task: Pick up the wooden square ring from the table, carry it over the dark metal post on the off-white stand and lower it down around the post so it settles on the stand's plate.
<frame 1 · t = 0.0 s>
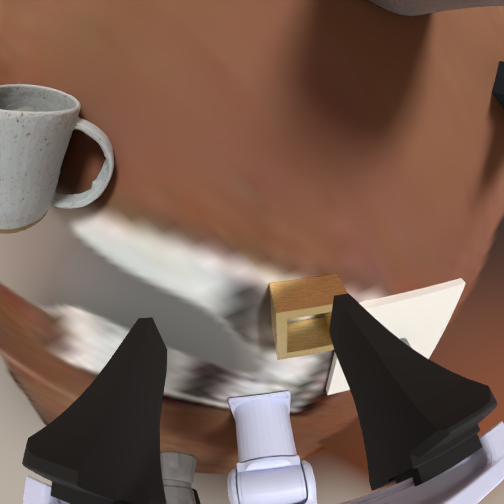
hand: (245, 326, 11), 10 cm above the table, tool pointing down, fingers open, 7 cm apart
wooden square ring: (303, 304, 24), on the table
coffeepot: (179, 457, 48), on the table
post stand: (393, 340, 29), on the table
ceramic mug: (58, 142, 15), on the table
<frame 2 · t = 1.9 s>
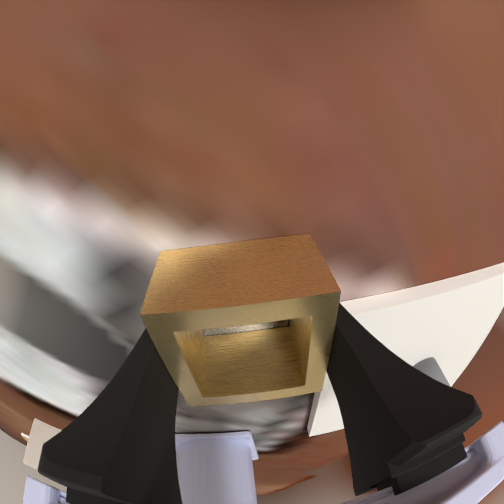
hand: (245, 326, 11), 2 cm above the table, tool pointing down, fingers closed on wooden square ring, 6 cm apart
wooden square ring: (242, 300, 12), on the table, touching gripper
post stand: (413, 360, 17), on the table
architectural model: (55, 424, 22), on the table
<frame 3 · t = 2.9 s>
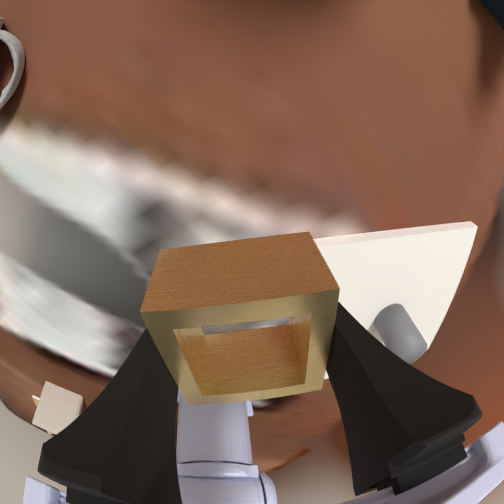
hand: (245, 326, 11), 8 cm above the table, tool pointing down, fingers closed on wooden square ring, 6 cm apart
wooden square ring: (242, 298, 12), point 6 cm above the table, touching gripper
post stand: (384, 308, 22), on the table
architectural model: (65, 387, 27), on the table
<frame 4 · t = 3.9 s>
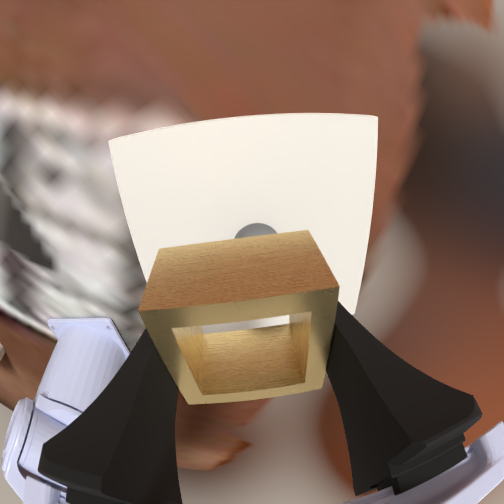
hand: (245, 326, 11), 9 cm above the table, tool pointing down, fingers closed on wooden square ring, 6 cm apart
wooden square ring: (241, 297, 12), point 7 cm above the table, touching gripper
post stand: (255, 236, 19), on the table
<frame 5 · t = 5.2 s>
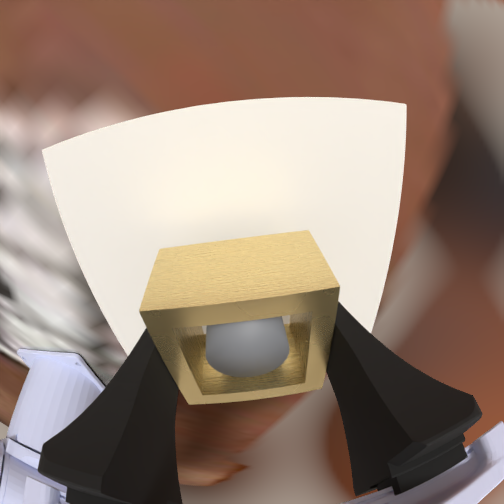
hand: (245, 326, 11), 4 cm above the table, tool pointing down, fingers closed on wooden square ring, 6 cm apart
wooden square ring: (241, 297, 12), point 2 cm above the table, touching gripper
post stand: (239, 268, 14), on the table
when the fingers open (4 cm above the table, at t = 6.2 s): wooden square ring drops 1 cm, resting on post stand.
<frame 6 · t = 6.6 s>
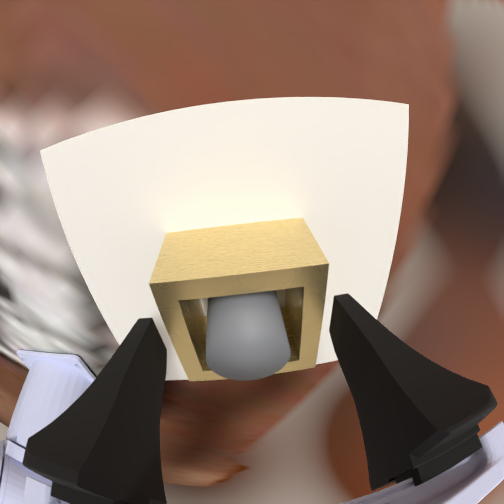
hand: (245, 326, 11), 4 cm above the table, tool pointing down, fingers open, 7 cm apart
wooden square ring: (240, 280, 13), point 1 cm above the table, touching post stand
post stand: (239, 269, 14), on the table
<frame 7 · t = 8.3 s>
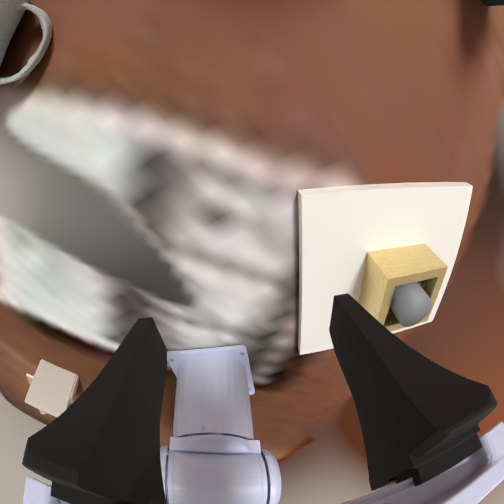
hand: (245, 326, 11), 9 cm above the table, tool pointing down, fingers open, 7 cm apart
wooden square ring: (391, 276, 21), point 1 cm above the table, touching post stand
post stand: (385, 270, 22), on the table
architectural model: (61, 367, 27), on the table
ceramic mug: (11, 39, 9), on the table
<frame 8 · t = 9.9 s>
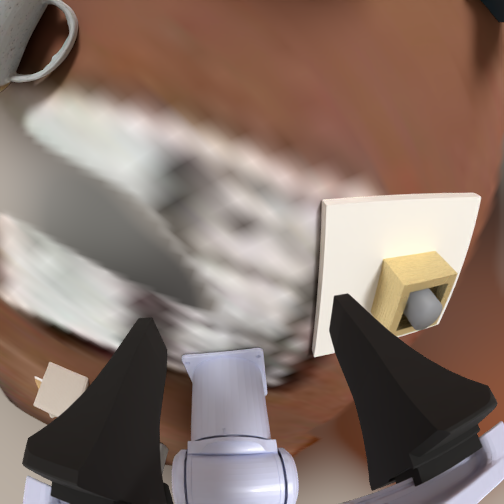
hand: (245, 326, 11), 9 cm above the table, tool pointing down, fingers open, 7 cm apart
wooden square ring: (403, 282, 22), point 1 cm above the table, touching post stand
post stand: (398, 276, 23), on the table
architectural model: (70, 369, 28), on the table
ceramic mug: (30, 35, 9), on the table
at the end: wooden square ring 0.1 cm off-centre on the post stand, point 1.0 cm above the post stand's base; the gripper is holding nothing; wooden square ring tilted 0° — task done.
